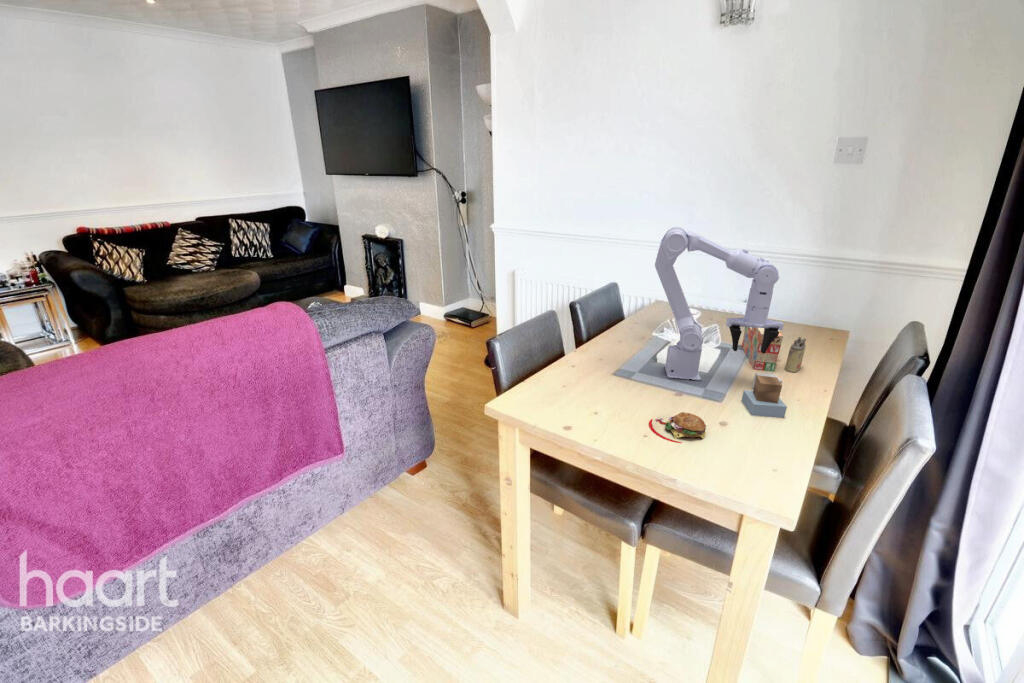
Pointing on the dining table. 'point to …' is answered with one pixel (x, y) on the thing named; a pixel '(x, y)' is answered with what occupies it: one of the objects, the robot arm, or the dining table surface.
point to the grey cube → (765, 375)
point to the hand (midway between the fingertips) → (748, 351)
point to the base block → (763, 406)
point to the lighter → (795, 355)
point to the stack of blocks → (753, 349)
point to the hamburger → (682, 426)
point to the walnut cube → (767, 389)
